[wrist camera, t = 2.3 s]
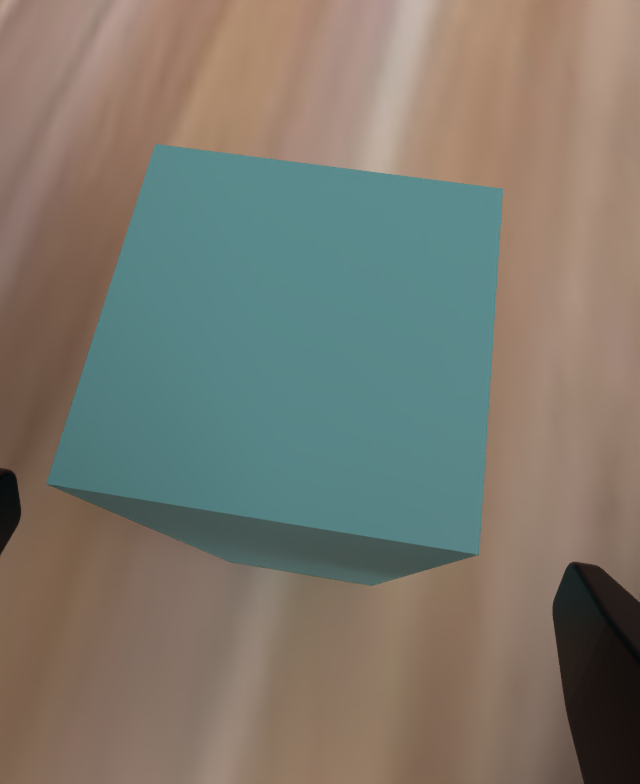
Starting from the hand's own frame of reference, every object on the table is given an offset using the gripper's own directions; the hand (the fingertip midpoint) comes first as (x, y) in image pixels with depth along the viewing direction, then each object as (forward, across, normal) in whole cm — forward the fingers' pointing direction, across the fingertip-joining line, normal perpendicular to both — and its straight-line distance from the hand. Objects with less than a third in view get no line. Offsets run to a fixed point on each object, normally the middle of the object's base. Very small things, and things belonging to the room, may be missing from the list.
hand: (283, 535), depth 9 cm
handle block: (+8, 0, +5) cm, 10 cm away
